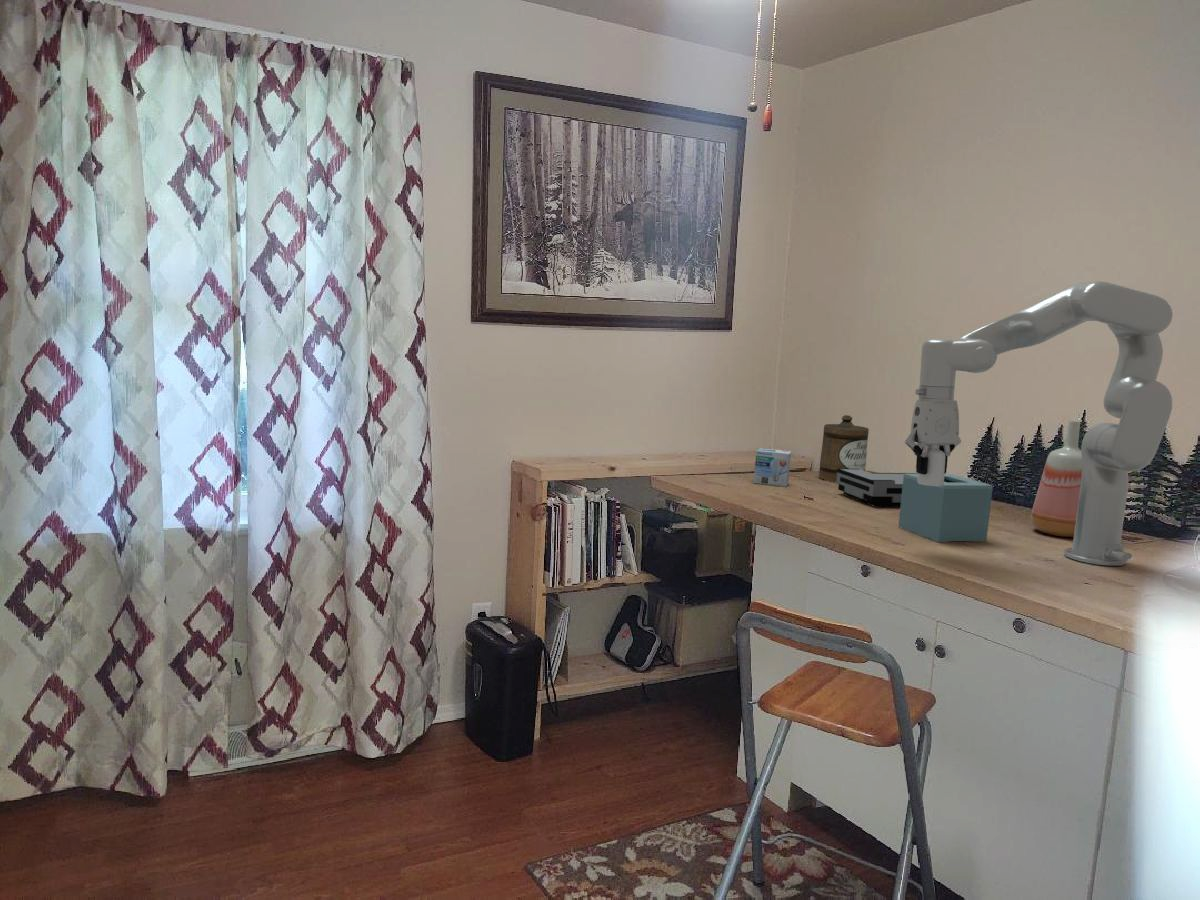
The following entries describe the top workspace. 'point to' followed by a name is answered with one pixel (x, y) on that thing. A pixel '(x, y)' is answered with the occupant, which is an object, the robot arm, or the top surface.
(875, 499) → the game console
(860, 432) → the wooden container
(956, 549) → the top surface
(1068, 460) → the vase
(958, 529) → the drop box
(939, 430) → the robot arm
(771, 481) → the light bulb box
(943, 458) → the eye dropper bottle
